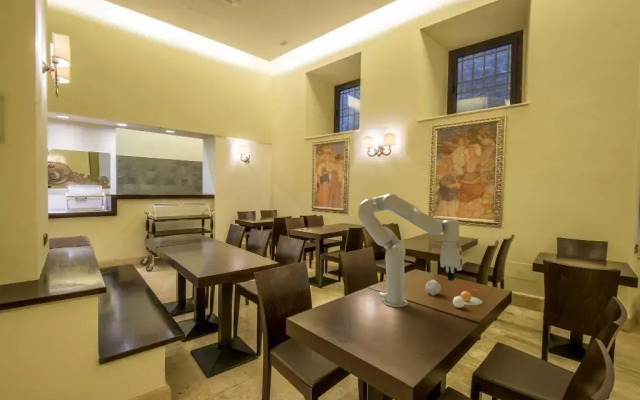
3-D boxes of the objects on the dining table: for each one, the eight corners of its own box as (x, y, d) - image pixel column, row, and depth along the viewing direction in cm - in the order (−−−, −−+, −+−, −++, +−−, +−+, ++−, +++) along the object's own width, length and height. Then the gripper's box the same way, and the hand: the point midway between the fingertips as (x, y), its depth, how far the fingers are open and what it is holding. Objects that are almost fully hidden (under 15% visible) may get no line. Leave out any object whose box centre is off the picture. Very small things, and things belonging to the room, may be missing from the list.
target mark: (451, 301, 164) (451, 301, 164) (456, 294, 175) (456, 294, 175) (480, 307, 156) (480, 306, 156) (483, 299, 167) (483, 298, 167)
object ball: (461, 287, 165) (465, 291, 168) (456, 296, 164) (460, 299, 168) (471, 292, 161) (474, 295, 164) (466, 301, 160) (470, 304, 163)
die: (443, 297, 172) (444, 281, 177) (433, 292, 169) (434, 275, 175) (431, 298, 179) (432, 283, 184) (421, 293, 176) (422, 277, 181)
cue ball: (459, 293, 158) (459, 301, 160) (450, 296, 157) (450, 304, 159) (467, 299, 153) (466, 308, 155) (458, 302, 152) (457, 311, 154)
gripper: (469, 245, 149) (469, 281, 150) (440, 241, 160) (440, 275, 161) (462, 246, 144) (462, 285, 145) (433, 243, 156) (433, 278, 156)
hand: (451, 280), depth 153 cm, fingers closed
